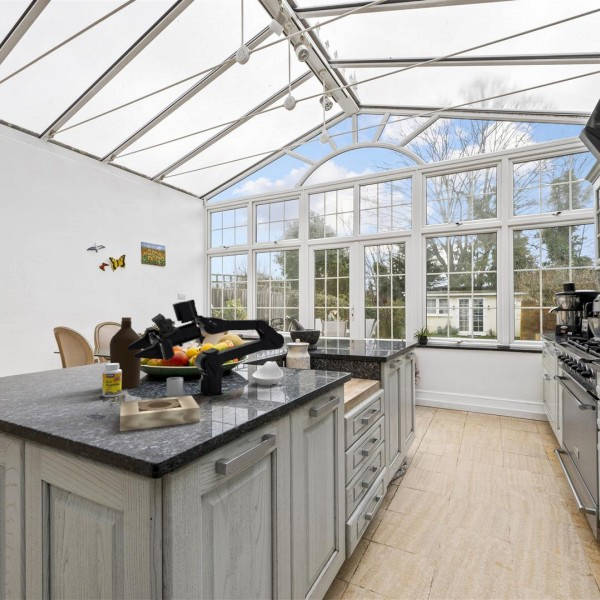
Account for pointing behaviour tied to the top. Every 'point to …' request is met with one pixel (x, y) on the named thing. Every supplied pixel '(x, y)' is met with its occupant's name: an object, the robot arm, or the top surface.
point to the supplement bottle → (112, 380)
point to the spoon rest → (268, 374)
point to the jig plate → (158, 412)
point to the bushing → (174, 387)
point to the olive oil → (126, 354)
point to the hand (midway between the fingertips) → (130, 352)
